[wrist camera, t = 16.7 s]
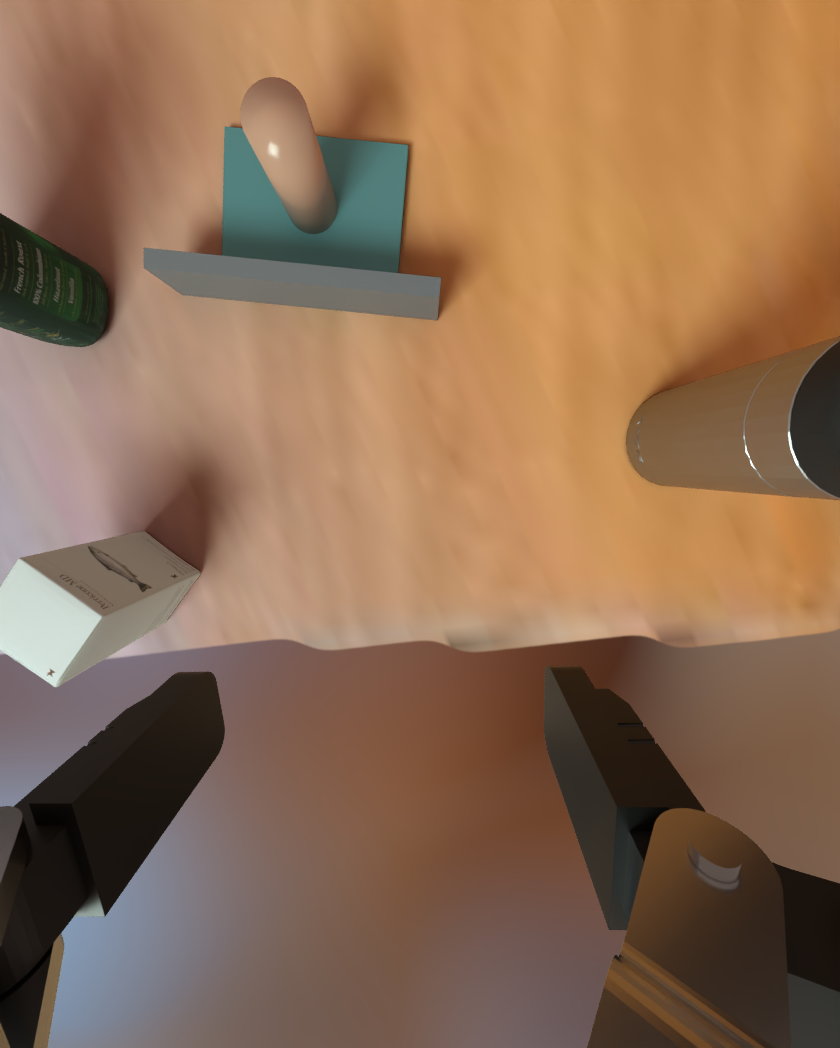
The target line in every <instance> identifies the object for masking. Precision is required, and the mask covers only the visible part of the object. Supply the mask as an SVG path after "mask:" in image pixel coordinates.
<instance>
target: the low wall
mask: <svg viewBox="0 0 840 1048" xmlns="http://www.w3.org/2000/svg"><path fill="white" fill-rule="evenodd" d="M144 268H145V269H146V270H147V271H149V272H150V273H152V274H153V275H155V276H156V277H157V278H159V279H160V280H162V281H163V282H165V283H166V284H167V285H169V286H170V287H172V288H173V289H174V290H176V291H177V292H179V293H180V294H182V295H189V296H199V297H209V298H219V299H229V300H239V301H249V302H259V303H269V304H279V305H289V306H299V307H309V308H319V309H329V310H339V311H349V312H359V313H369V314H379V315H389V316H399V317H409V318H419V319H429V320H437V319H438V308H439V298H440V286H441V277H431V276H421V275H411V274H401V273H391V272H381V271H371V270H361V269H351V268H341V267H331V266H321V265H311V264H301V263H291V262H281V261H271V260H261V259H251V258H241V257H231V256H221V255H211V254H201V253H191V252H181V251H171V250H161V249H151V248H144Z"/></svg>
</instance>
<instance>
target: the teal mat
mask: <svg viewBox="0 0 840 1048" xmlns="http://www.w3.org/2000/svg"><path fill="white" fill-rule="evenodd" d="M316 137H317V140H318V143H319V146H320V149H321V152H322V156H323V159H324V162H325V165H326V168H327V171H328V174H329V177H330V180H331V184H332V187H333V190H334V193H335V196H336V200H337V215H336V218H335V220H334V222H333V224H332V225H331V226H330V227H329V228H328V229H327V230H325V231H324V232H322V233H319V234H308V233H305V232H302V231H301V230H299V229H298V228H297V227H296V226H295V225H294V224H293V223H292V221H291V220H290V218H289V216H288V214H287V212H286V210H285V208H284V206H283V205H282V203H281V201H280V199H279V197H278V195H277V193H276V191H275V190H274V188H273V186H272V184H271V182H270V180H269V178H268V176H267V175H266V173H265V171H264V169H263V167H262V165H261V163H260V161H259V160H258V158H257V156H256V154H255V152H254V150H253V148H252V146H251V145H250V143H249V141H248V139H247V137H246V135H245V133H244V131H243V128H234V127H225V137H224V185H223V233H222V256H231V257H241V258H251V259H261V260H271V261H281V262H291V263H301V264H311V265H321V266H331V267H341V268H351V269H361V270H371V271H381V272H391V273H398V271H399V259H400V247H401V235H402V223H403V211H404V199H405V186H406V174H407V162H408V145H403V144H393V143H383V142H373V141H363V140H353V139H343V138H333V137H323V136H316Z"/></svg>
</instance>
